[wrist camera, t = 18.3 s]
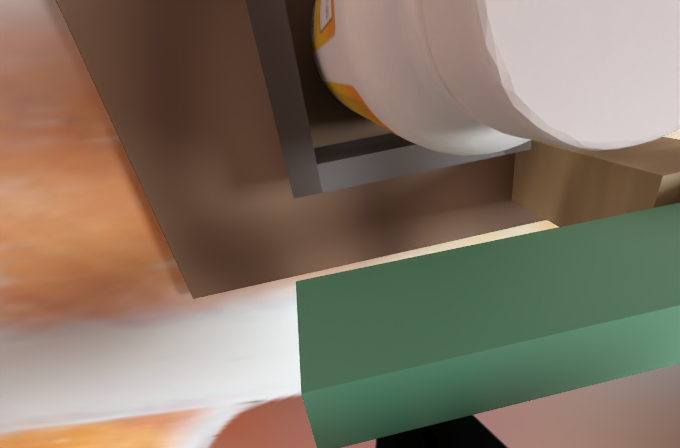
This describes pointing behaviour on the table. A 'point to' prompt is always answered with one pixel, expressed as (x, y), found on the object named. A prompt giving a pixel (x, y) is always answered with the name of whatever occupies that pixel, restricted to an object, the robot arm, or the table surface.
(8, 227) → the table surface
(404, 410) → the keeper arm
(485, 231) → the bottle stand
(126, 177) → the table surface
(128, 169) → the table surface
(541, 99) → the supplement bottle
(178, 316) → the table surface
